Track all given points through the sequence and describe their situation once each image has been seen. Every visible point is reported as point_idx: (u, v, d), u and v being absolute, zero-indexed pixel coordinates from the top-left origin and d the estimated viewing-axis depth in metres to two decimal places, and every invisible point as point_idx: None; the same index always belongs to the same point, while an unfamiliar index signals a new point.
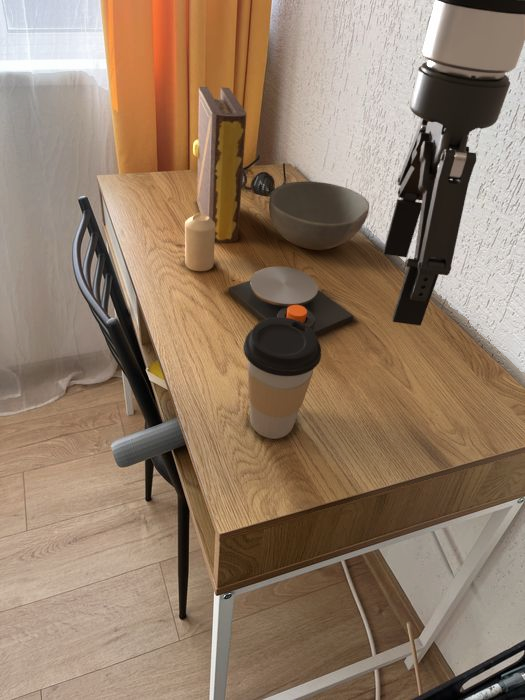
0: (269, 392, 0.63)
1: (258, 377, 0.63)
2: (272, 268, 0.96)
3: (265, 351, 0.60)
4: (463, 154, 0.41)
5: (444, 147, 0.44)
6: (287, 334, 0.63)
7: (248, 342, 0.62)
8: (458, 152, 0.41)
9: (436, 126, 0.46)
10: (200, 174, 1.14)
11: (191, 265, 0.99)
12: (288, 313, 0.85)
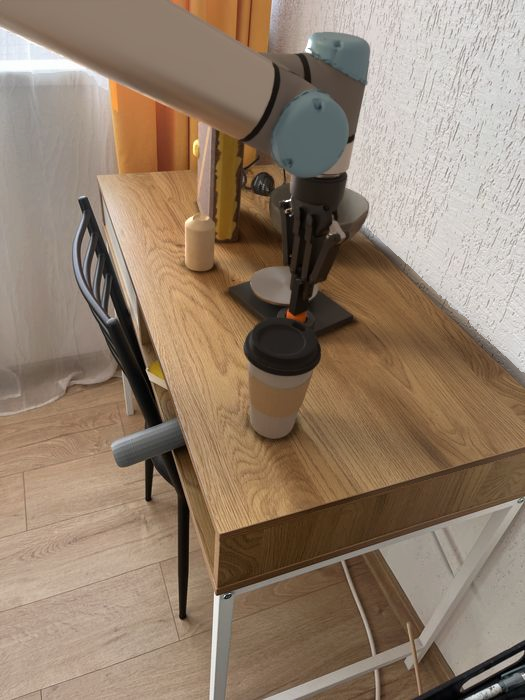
0: (269, 392, 0.63)
1: (258, 377, 0.63)
2: (272, 268, 0.96)
3: (265, 351, 0.60)
4: (344, 236, 0.72)
5: (329, 223, 0.71)
6: (287, 334, 0.63)
7: (248, 342, 0.62)
8: (342, 236, 0.71)
9: None
10: (200, 174, 1.14)
11: (191, 265, 0.99)
12: (288, 315, 0.85)
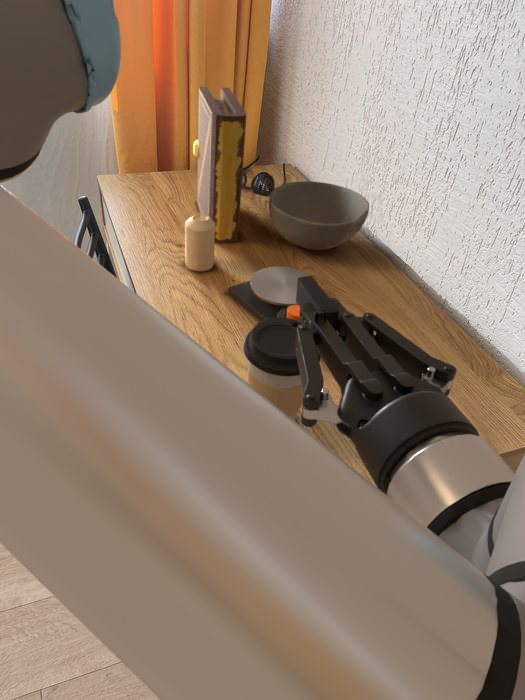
0: (269, 392, 0.63)
1: (258, 377, 0.63)
2: (272, 268, 0.96)
3: (265, 351, 0.60)
4: (303, 414, 0.38)
5: (339, 410, 0.37)
6: (287, 334, 0.63)
7: (248, 342, 0.62)
8: (305, 411, 0.38)
9: None
10: (200, 174, 1.14)
11: (191, 265, 0.99)
12: (288, 313, 0.85)
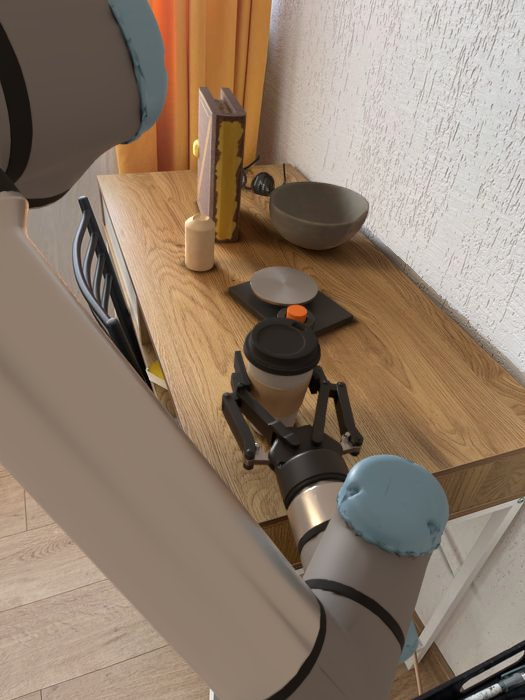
0: (269, 392, 0.63)
1: (258, 377, 0.63)
2: (272, 268, 0.96)
3: (265, 351, 0.60)
4: (245, 463, 0.56)
5: (269, 456, 0.56)
6: (286, 334, 0.63)
7: (248, 342, 0.62)
8: (247, 461, 0.56)
9: None
10: (200, 174, 1.14)
11: (191, 265, 0.99)
12: (288, 313, 0.85)
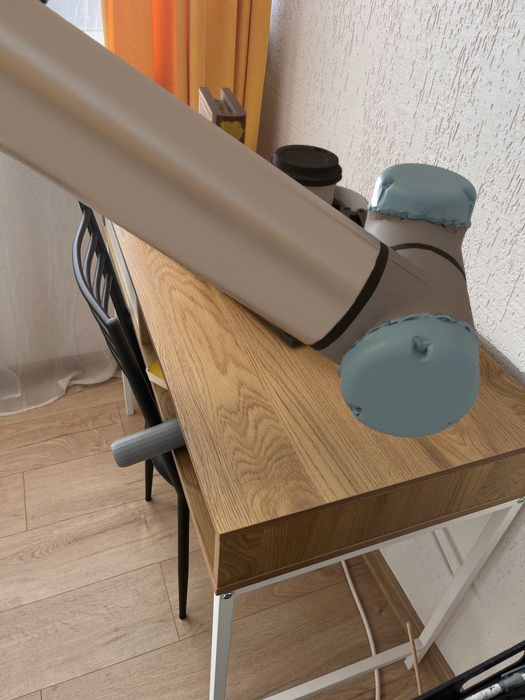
0: None
1: None
2: None
3: (289, 162, 0.62)
4: None
5: None
6: (309, 155, 0.65)
7: (272, 161, 0.65)
8: None
9: None
10: None
11: None
12: None
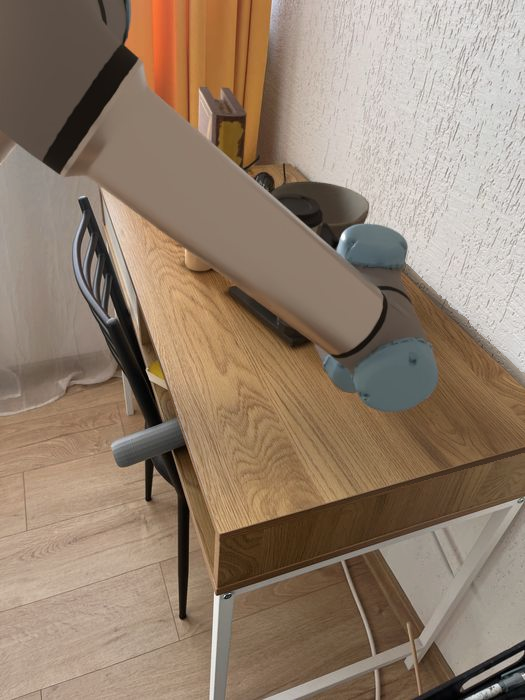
0: None
1: None
2: None
3: None
4: None
5: None
6: (297, 203, 0.83)
7: None
8: None
9: None
10: None
11: (191, 265, 0.99)
12: None
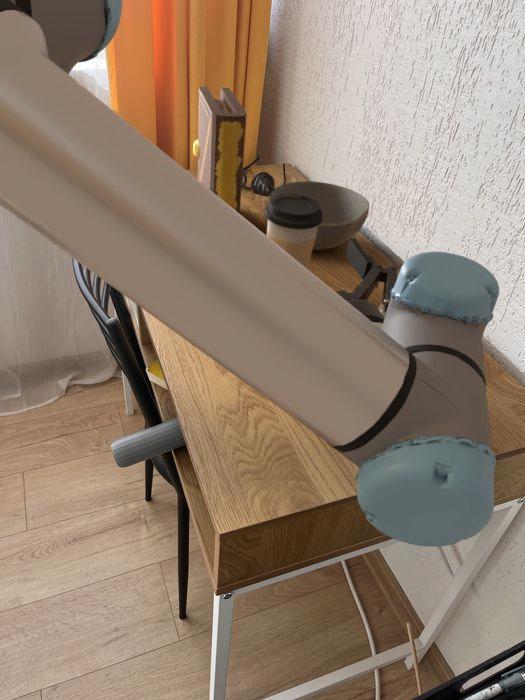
0: (283, 246, 0.84)
1: (275, 234, 0.83)
2: None
3: (281, 210, 0.80)
4: None
5: None
6: (297, 203, 0.83)
7: (268, 208, 0.83)
8: None
9: None
10: (200, 174, 1.14)
11: None
12: None
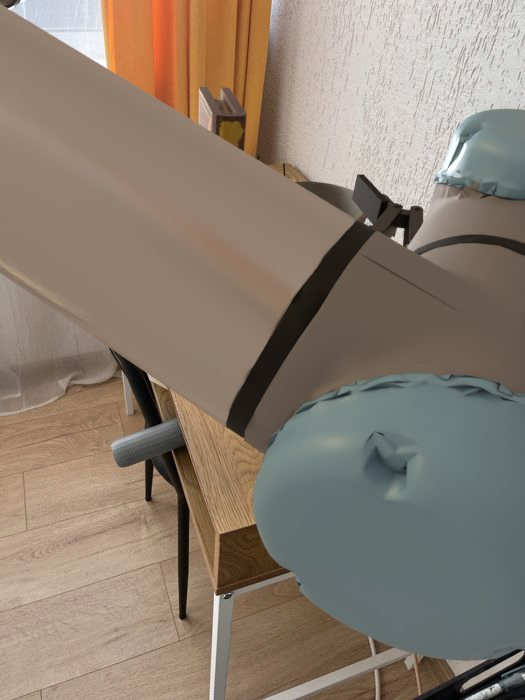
0: None
1: None
2: None
3: None
4: None
5: None
6: None
7: None
8: None
9: None
10: None
11: None
12: None
